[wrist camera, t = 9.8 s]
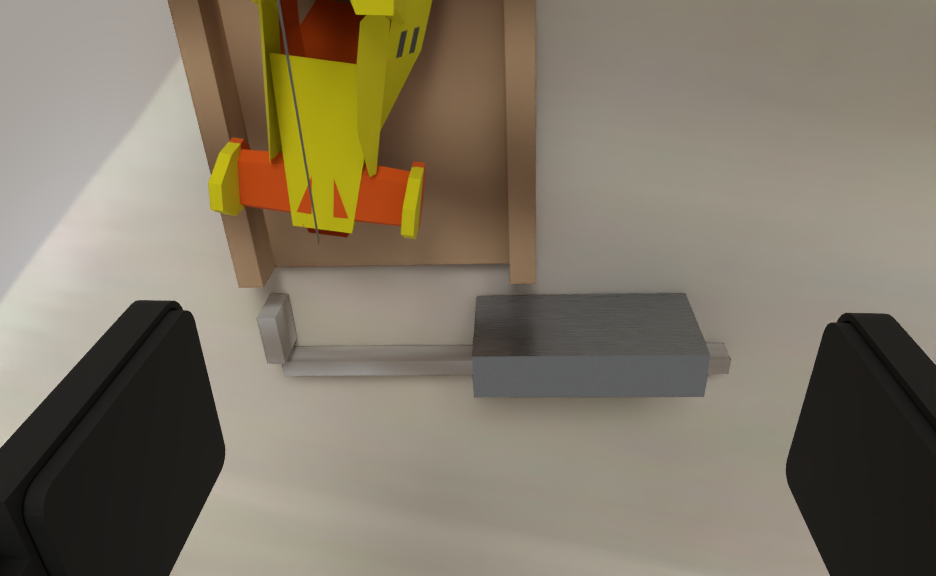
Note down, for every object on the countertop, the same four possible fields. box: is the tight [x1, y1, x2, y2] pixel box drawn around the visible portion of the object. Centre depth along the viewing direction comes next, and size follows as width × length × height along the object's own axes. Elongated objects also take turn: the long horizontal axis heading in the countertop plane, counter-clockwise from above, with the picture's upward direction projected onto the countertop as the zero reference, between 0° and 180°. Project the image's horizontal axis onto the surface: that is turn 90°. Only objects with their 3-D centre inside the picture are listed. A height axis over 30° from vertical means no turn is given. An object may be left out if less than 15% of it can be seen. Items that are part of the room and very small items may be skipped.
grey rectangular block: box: [472, 294, 710, 397], centre depth 29 cm, size 2×9×4 cm, turn 93°
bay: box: [168, 0, 731, 376], centre depth 24 cm, size 30×20×2 cm
